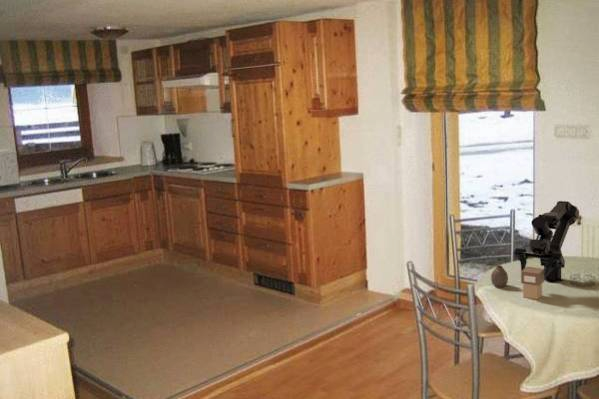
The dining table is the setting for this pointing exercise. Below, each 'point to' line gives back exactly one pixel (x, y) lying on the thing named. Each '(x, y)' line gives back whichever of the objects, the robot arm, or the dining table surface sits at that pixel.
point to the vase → (499, 277)
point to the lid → (532, 276)
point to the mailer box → (532, 291)
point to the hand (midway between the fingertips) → (533, 274)
